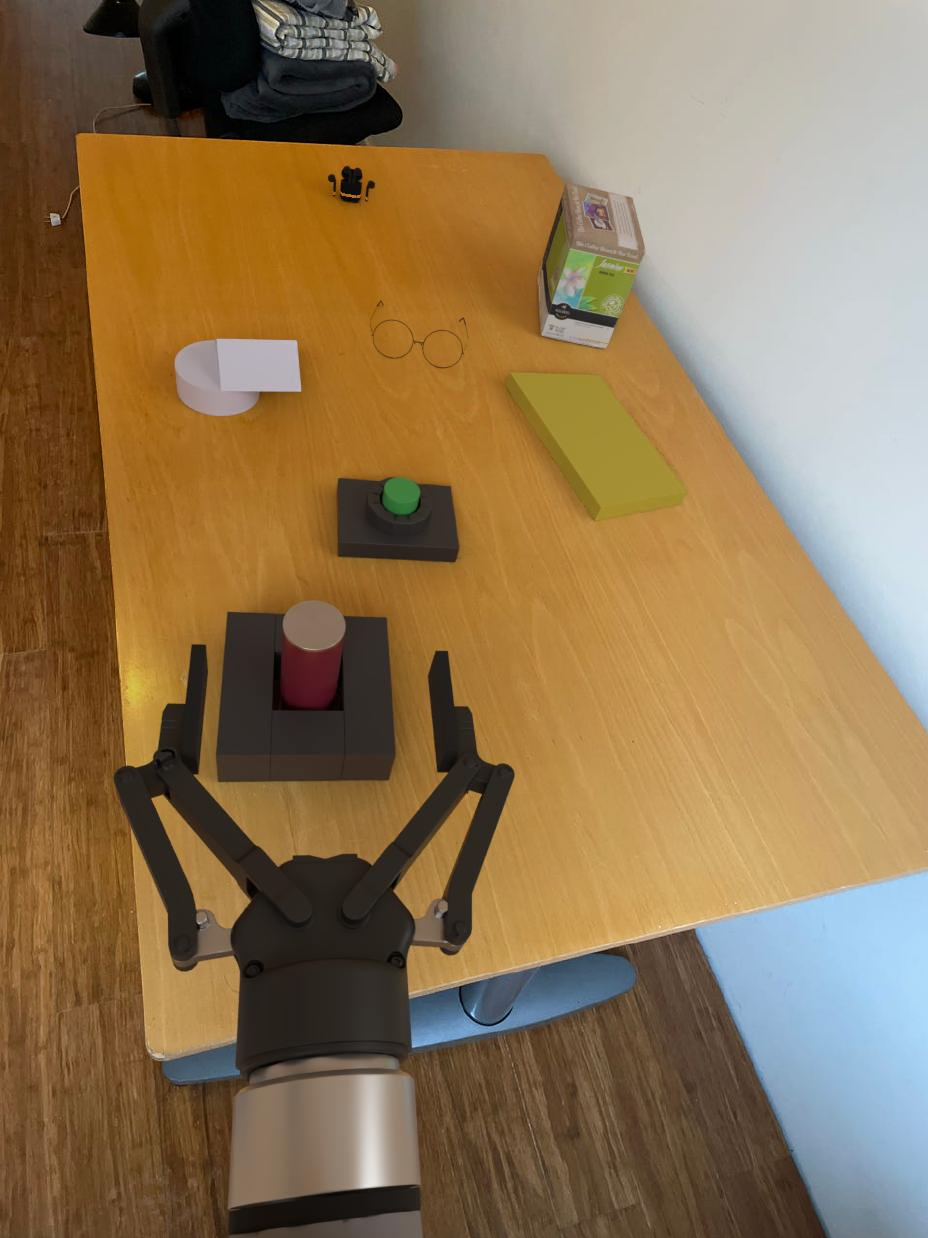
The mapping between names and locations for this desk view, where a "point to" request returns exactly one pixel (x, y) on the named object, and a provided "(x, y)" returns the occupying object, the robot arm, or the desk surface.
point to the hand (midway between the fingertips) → (322, 660)
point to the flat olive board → (596, 444)
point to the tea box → (588, 265)
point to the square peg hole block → (304, 739)
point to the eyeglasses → (416, 341)
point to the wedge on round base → (234, 373)
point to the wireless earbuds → (351, 184)
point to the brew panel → (395, 523)
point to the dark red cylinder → (311, 656)
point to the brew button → (401, 496)
